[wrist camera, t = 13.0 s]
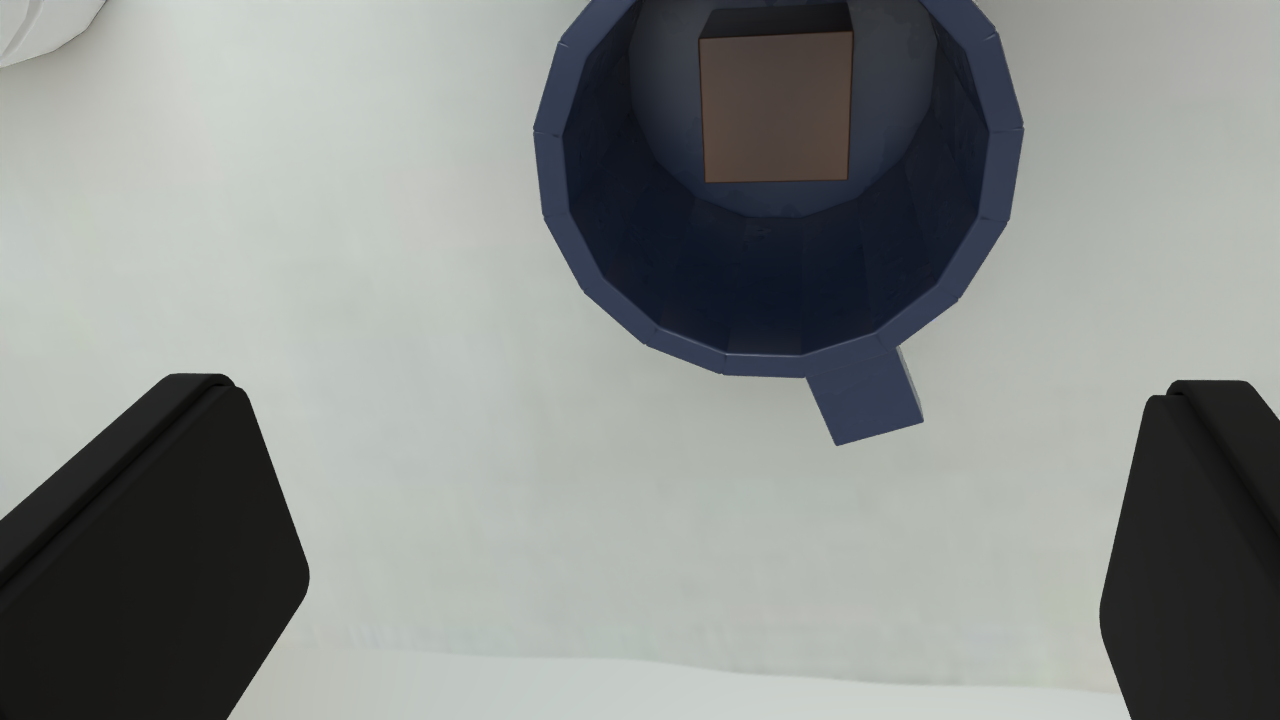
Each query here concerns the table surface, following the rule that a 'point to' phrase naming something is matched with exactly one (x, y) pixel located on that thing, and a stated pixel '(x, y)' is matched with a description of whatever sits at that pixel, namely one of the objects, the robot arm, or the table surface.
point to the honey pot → (41, 26)
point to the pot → (782, 199)
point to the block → (776, 93)
